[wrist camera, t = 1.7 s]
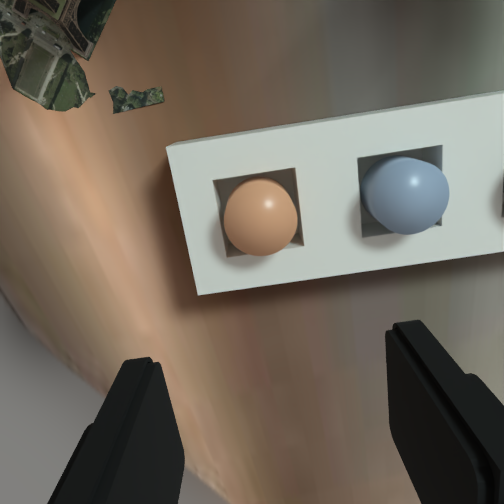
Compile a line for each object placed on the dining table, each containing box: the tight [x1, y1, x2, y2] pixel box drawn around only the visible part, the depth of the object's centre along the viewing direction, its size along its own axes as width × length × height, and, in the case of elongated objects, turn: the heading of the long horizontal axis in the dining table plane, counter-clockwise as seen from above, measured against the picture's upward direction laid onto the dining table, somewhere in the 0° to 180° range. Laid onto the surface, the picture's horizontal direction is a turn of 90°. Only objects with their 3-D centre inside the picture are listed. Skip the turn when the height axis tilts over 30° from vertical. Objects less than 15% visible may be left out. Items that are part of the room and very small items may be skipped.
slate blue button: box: [360, 155, 450, 235], centre depth 25 cm, size 4×4×3 cm
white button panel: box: [166, 90, 504, 295], centre depth 27 cm, size 28×10×4 cm, turn 99°
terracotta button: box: [224, 176, 297, 256], centre depth 25 cm, size 4×4×3 cm
